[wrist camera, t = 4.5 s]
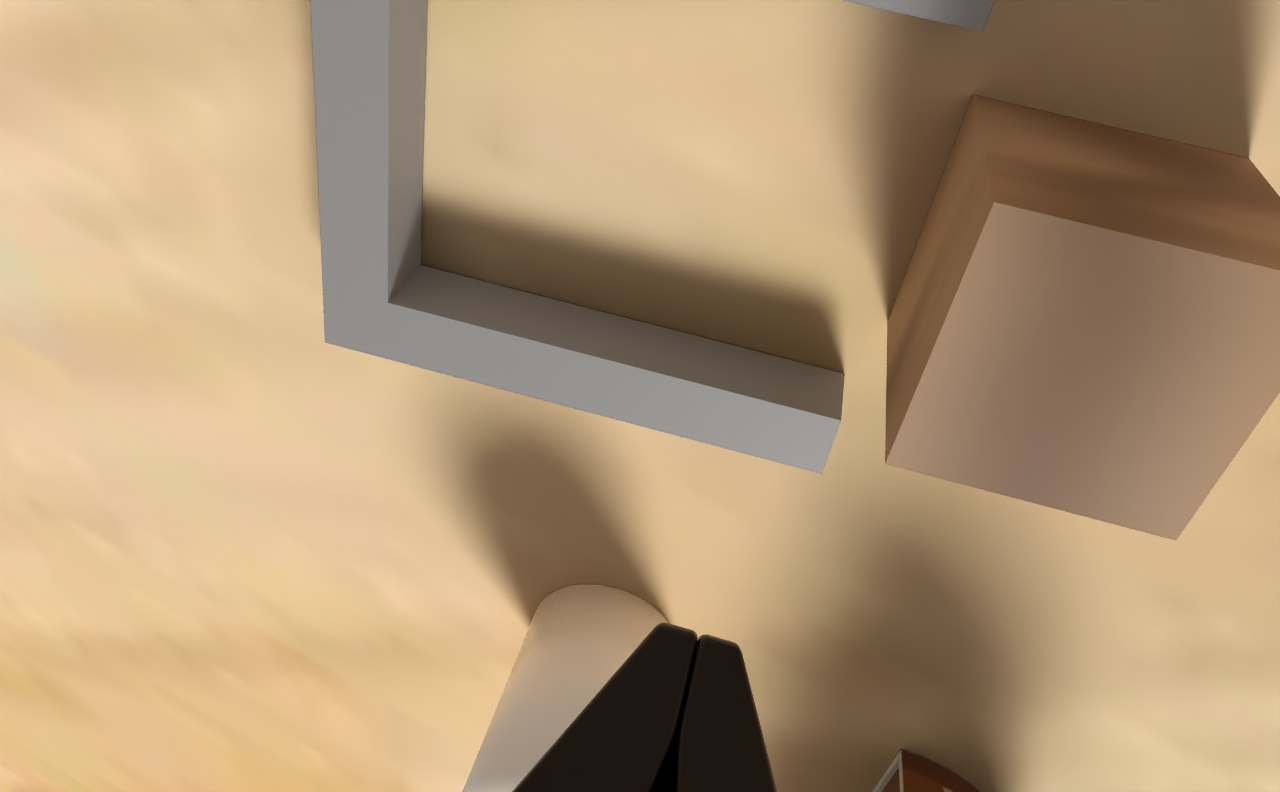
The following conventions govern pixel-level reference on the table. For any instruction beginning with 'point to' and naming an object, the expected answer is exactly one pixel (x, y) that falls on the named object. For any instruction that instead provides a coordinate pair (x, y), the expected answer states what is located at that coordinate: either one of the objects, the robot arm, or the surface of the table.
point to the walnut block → (1086, 318)
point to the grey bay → (512, 319)
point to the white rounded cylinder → (558, 676)
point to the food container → (920, 776)
